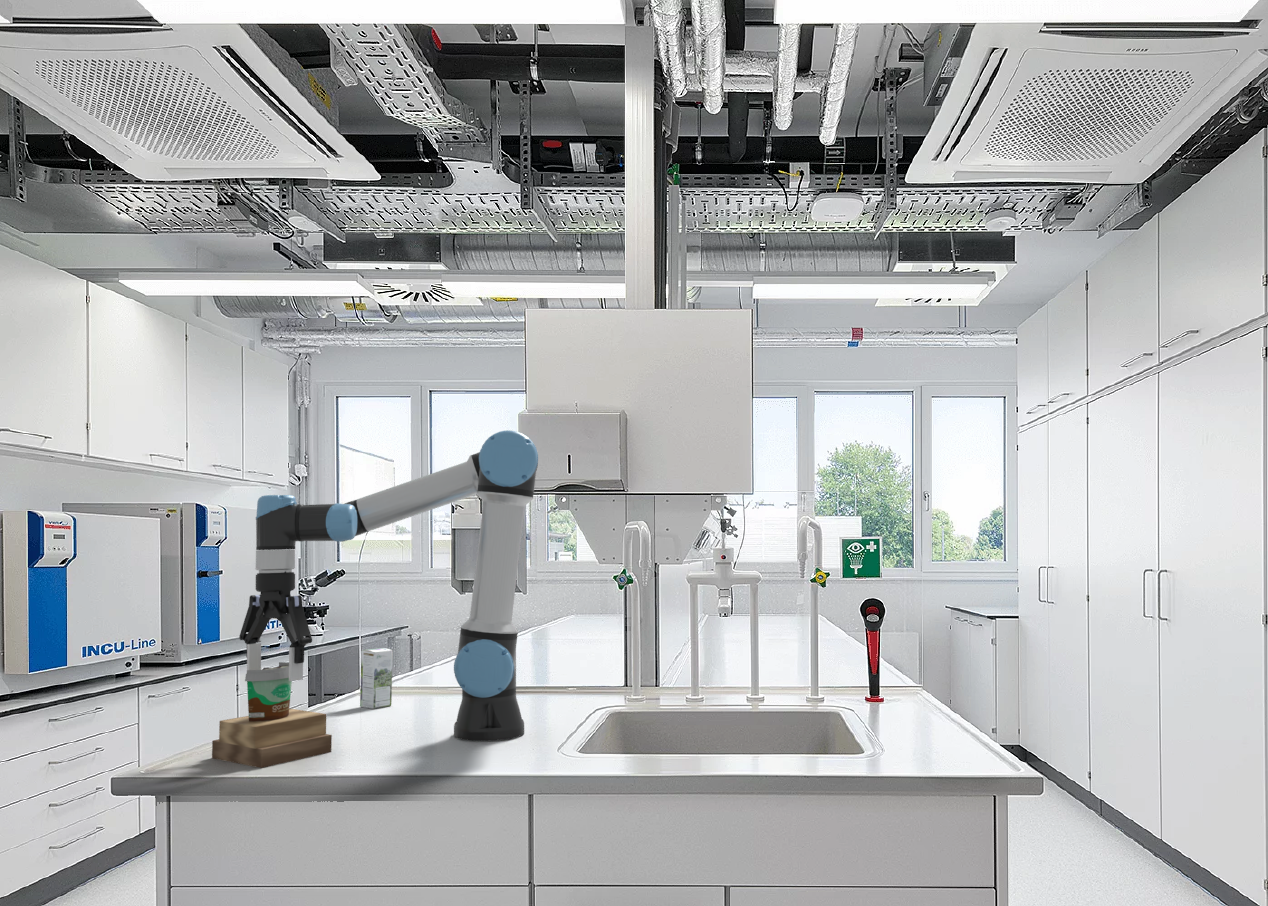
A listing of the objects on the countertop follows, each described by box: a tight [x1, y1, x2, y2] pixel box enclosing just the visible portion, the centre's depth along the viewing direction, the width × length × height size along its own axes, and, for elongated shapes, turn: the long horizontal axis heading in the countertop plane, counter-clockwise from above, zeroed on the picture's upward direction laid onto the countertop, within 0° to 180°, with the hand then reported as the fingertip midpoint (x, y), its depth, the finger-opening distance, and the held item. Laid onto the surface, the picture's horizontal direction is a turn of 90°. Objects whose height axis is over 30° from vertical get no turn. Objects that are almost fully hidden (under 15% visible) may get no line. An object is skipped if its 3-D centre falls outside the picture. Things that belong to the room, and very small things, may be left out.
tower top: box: [218, 708, 327, 749], centre depth 195 cm, size 12×16×4 cm
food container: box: [244, 661, 293, 721], centre depth 195 cm, size 12×6×10 cm, turn 168°
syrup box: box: [359, 647, 394, 710], centre depth 250 cm, size 6×6×14 cm
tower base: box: [211, 733, 333, 769], centre depth 195 cm, size 16×16×4 cm
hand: (274, 678), depth 196 cm, fingers open, 13 cm apart
